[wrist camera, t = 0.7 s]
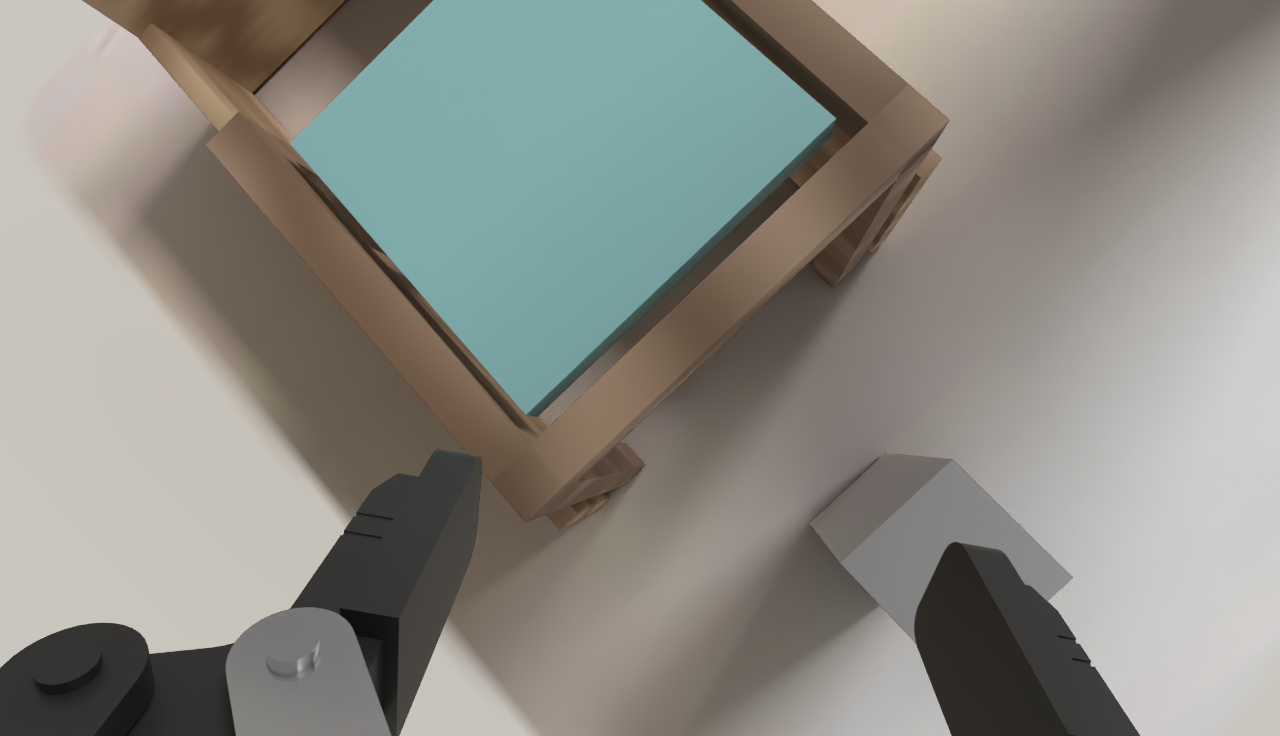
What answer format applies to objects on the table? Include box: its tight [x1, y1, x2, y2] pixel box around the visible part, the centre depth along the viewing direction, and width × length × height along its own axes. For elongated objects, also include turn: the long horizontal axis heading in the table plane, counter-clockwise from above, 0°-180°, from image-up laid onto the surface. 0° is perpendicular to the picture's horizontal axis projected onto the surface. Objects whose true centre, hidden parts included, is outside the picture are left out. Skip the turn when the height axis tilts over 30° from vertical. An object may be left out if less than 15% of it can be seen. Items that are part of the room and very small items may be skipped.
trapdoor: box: [290, 0, 836, 417], centre depth 21 cm, size 12×12×1 cm
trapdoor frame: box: [82, 0, 950, 529], centre depth 30 cm, size 20×33×16 cm, turn 42°
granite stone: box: [809, 453, 1073, 643], centre depth 27 cm, size 5×5×11 cm
